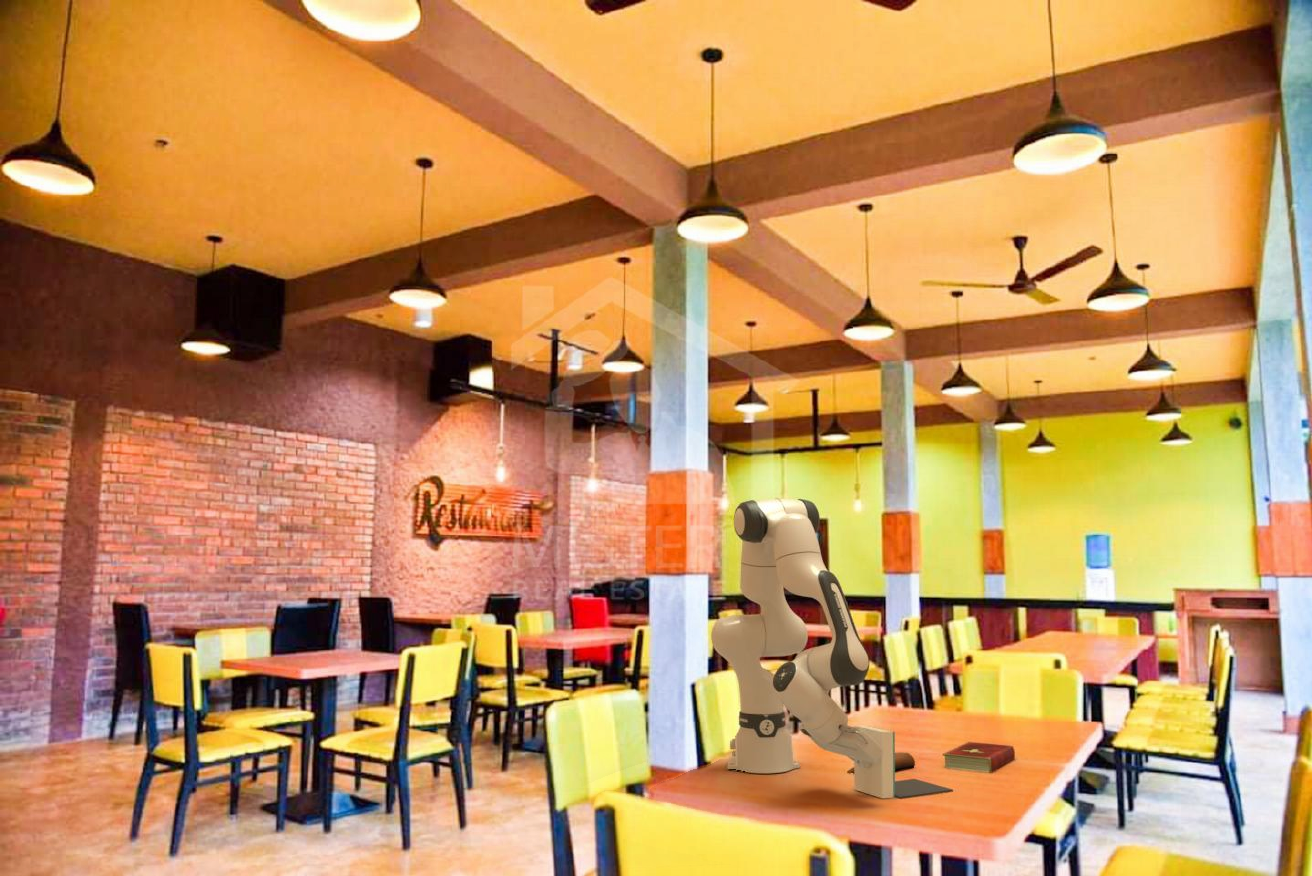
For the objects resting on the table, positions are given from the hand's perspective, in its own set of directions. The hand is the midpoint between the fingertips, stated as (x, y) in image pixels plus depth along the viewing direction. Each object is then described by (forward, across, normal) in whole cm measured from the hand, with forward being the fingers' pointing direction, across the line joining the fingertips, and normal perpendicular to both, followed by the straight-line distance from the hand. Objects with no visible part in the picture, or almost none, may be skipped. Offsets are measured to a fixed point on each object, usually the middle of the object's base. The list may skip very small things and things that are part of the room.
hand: (865, 765), depth 203 cm
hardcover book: (+38, +15, -28) cm, 50 cm away
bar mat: (+13, 0, -4) cm, 13 cm away
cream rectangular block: (+6, 0, +3) cm, 7 cm away
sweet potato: (+19, +20, -9) cm, 29 cm away
